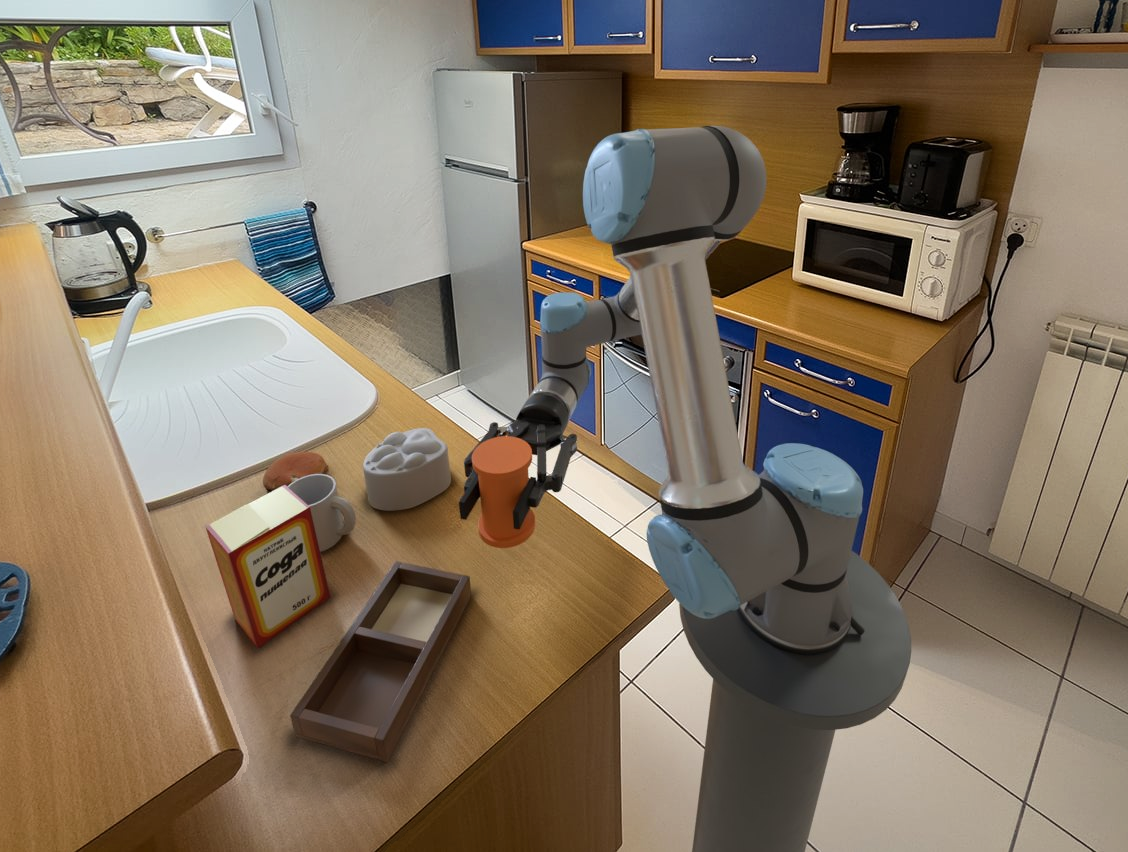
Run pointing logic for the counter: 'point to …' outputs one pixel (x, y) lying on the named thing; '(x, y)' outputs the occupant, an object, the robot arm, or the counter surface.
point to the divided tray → (383, 662)
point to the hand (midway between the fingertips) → (489, 515)
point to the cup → (325, 508)
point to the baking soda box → (269, 563)
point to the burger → (293, 469)
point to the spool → (502, 489)
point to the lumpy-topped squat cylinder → (406, 470)
